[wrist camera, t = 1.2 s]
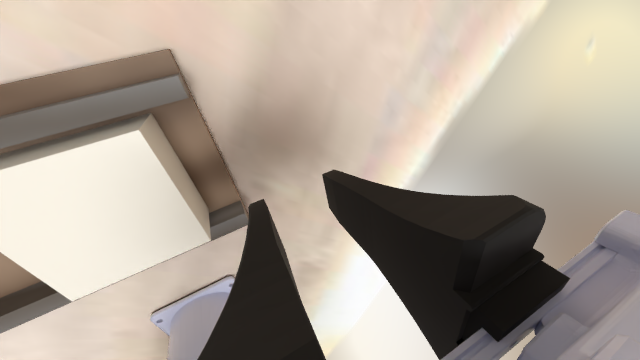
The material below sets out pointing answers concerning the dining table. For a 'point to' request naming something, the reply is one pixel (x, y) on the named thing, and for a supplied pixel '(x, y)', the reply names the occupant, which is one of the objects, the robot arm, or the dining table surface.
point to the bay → (99, 110)
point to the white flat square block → (98, 206)
